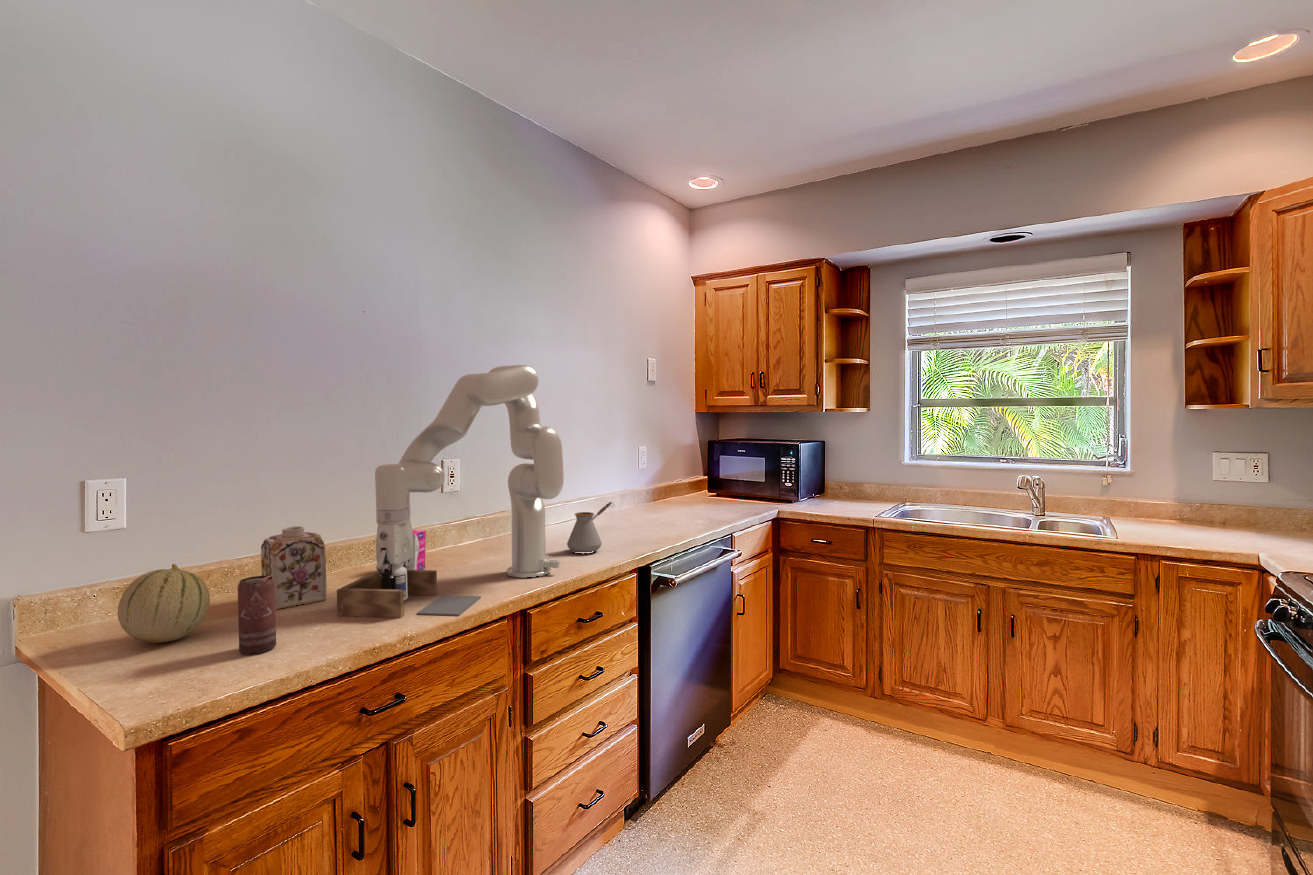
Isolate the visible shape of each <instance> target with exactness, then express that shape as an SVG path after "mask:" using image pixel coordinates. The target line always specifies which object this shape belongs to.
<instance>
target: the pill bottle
mask: <svg viewBox="0 0 1313 875" xmlns="http://www.w3.org/2000/svg"><path fill="white" fill-rule="evenodd" d="M386 564H390V562H386ZM403 565H404V563H402V564H400V565H397V566H395V572H394V577H396V590H404V601H405V600H408V596H409V595H408V585H407V569H406V568H405V567H403ZM386 568H388V570H389V571H390V567H386Z"/></svg>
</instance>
